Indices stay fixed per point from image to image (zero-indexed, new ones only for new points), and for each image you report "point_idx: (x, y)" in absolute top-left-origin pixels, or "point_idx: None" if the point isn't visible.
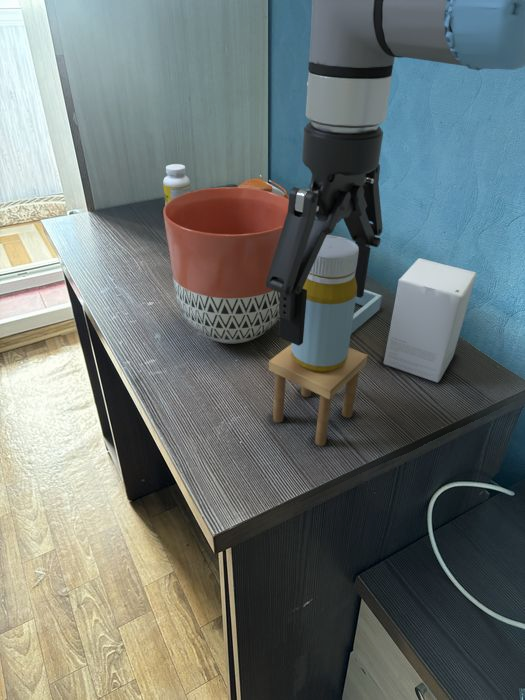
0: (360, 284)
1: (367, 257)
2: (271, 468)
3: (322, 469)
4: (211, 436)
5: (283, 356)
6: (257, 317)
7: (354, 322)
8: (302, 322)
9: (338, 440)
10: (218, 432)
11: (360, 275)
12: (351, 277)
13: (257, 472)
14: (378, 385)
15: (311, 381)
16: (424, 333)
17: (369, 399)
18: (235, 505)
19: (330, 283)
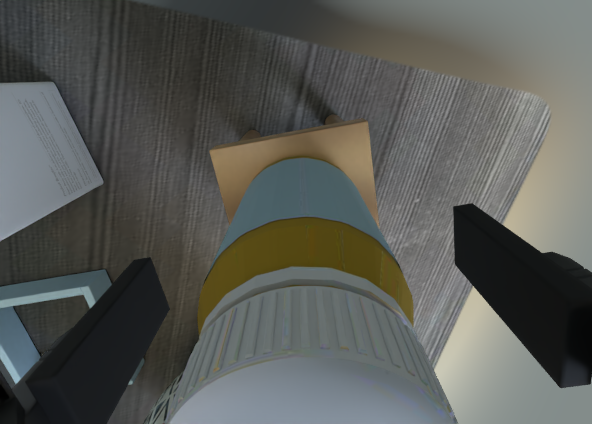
0: (134, 285)
1: (66, 349)
2: (426, 133)
3: (374, 80)
4: (437, 233)
5: None
6: None
7: (75, 283)
8: (502, 233)
9: (308, 106)
10: (425, 233)
11: (121, 308)
12: (290, 273)
13: (445, 141)
14: (154, 151)
15: (372, 167)
16: (6, 141)
17: (194, 138)
18: (511, 117)
19: (388, 295)
